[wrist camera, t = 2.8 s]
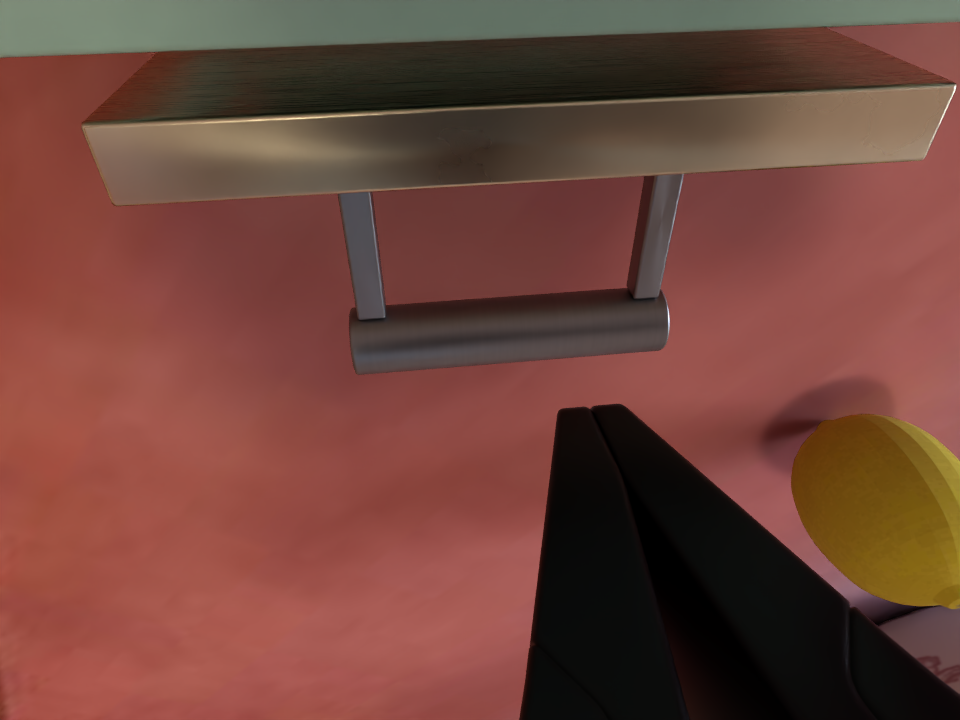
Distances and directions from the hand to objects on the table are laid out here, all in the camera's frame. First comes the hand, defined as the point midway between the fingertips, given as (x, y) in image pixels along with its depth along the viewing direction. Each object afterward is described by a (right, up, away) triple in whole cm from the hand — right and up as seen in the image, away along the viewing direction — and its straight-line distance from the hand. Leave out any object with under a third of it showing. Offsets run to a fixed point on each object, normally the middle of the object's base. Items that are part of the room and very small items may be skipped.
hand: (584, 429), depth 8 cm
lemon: (+13, -2, +18) cm, 22 cm away
